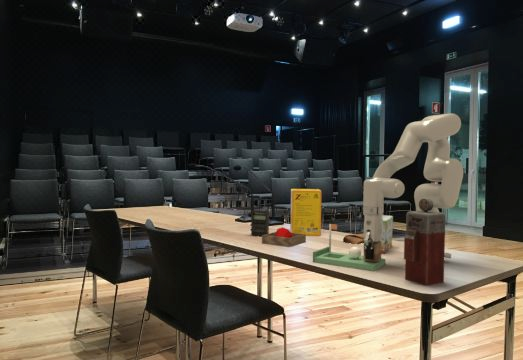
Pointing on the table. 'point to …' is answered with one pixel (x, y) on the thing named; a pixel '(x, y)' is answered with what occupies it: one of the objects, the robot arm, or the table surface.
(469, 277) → the table surface
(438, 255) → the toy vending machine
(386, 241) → the snack box
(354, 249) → the ball
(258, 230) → the geiger counter
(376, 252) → the block
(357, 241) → the sunglasses case
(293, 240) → the display frame
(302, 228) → the packaging box
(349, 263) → the green
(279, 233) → the gemstone
